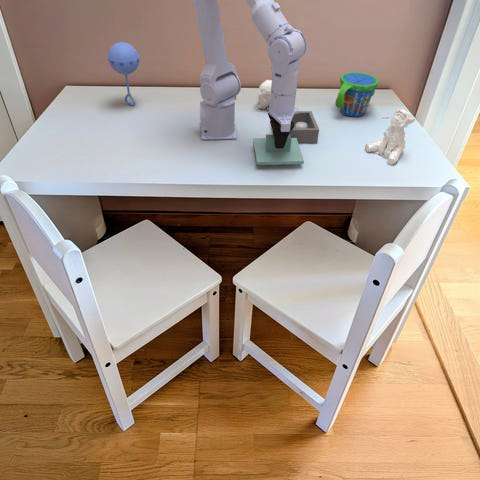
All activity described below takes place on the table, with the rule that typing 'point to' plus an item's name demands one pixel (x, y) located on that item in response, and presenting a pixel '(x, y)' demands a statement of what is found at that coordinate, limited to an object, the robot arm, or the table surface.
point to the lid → (277, 151)
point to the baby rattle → (124, 62)
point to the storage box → (305, 128)
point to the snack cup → (355, 93)
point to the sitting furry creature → (392, 137)
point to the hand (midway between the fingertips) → (278, 144)
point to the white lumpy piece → (264, 94)
